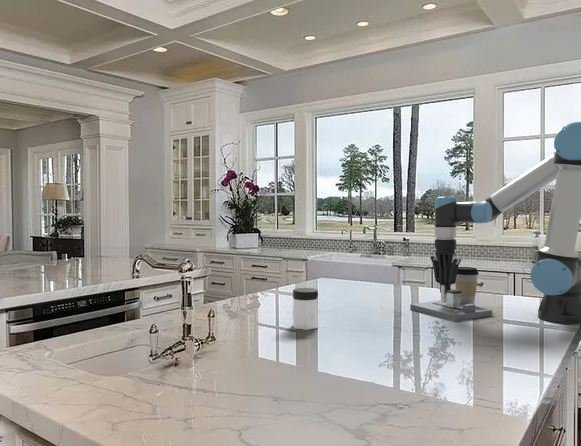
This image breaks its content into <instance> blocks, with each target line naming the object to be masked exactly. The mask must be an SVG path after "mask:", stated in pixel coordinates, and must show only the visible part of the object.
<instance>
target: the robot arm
mask: <svg viewBox="0 0 581 446" xmlns="http://www.w3.org/2000/svg"><path fill="white" fill-rule="evenodd" d="M553 147H554V150H553V153H552V154H551V155H550V156H548V157H547V158H545V159H544V160H542V161H540V162H539V163H537V164H536V165H535V166H533V167H531V168H530V169H529V170H527V171H526V172H524V173H523V174H521V175H520V176H518V177H517V178H515V179H514V180H512V181H510V182H509V183H508V184H506V185H505V186H503V187H501V188H500V189H499V190H497V191H495V192H494V193H493V194H492V195H490V196H488V197H487V198H485V199H484V200H481V201H480V200H479V201H457V197H456V196H438V197H436V198H435V200H434V202H435V203H434V238H435V239H434V249H435V254H434V255H433V256H432V255H431V256H430V260H431V262H432V266H433V267H432V269H433V273H434V275H433V276H434V279H435V282H436V283H438V284H439V292H440V300H441V303H447V293H446V290H452V289H451V286H452V285H455V281H456V276H457V271H458V267H460V266H459V265H460V263H461V261H462V258H458V257H457V256H456V255H457V254H456V252H455V250H456V249H457V240H456V238H457V223H458V224H459V223H465V224H488V223H490V222H493V221H495V220H497V218H498V217H499V216H500V215H501V214H503V213H504V212H506V211H507V210H509V209H511V208H512V207H514V206H515V205H517V204H519V203H520V202H521V201H523V200H525V199H527V198H528V197H529V196H531V195H533V194H534V193H536V192H537V191H539V190H541V189H542V188H544V187H545V186H547V185H548V184H550V183H552V182H554V181H555V184H554V188H553V189H554V190H553V195H552V200H551V208H550V211H549V217H548V222H547V223H548V224H547V227H546V233H545V239H544V243H543V245H542V246H541V247H539V248H538V249H537V254H536V259H535V263H534V264H533V266H532V268H531V270H530V275H529V276H530V281H531V283H532V286H534V288H535V289H536V290H537V291H539V292H540V293H541V294H543V297H542V299H541V302H540V304H539V307H538V309H537V317H538V318H539V319H541V320H544V321H549V322H554V323H561V324H575V325H576V324H581V253H580V252H577V251H576V250H575V249H576V245H577V240H578V234H579V230H580V229H579V228H580V223H581V121H574V122H569V123H567V124H566V125H564V126H562V128H561V127H560V129H559V130H558V131H557V133H556V135H555V136H554V140H553Z"/></svg>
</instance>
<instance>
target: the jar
mask: <svg viewBox="0 0 581 446" xmlns="http://www.w3.org/2000/svg"><path fill="white" fill-rule="evenodd" d="M292 325H293V326H292V327H293V329H295V330H303V331H309V330H315V329H319V290H318V289H317V288H313V287H312V288H311V287H299V288H298V287H297V288H293V290H292Z"/></svg>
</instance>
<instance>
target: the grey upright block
mask: <svg viewBox="0 0 581 446" xmlns="http://www.w3.org/2000/svg"><path fill="white" fill-rule="evenodd" d="M446 293H447V306H448V307H452V308H455V307H460V293H461V291H459V290H456V289H451V290H446Z"/></svg>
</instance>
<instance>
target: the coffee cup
mask: <svg viewBox="0 0 581 446" xmlns="http://www.w3.org/2000/svg"><path fill="white" fill-rule="evenodd" d="M478 275H479V270H478V269H477V267H471V266H458V271H457V276H456V281H455V284H454V285H455V290H459V291H461V293H460V298H461V303H462V304H475V300H476V294H477V293H476V292H477V287H478Z"/></svg>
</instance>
